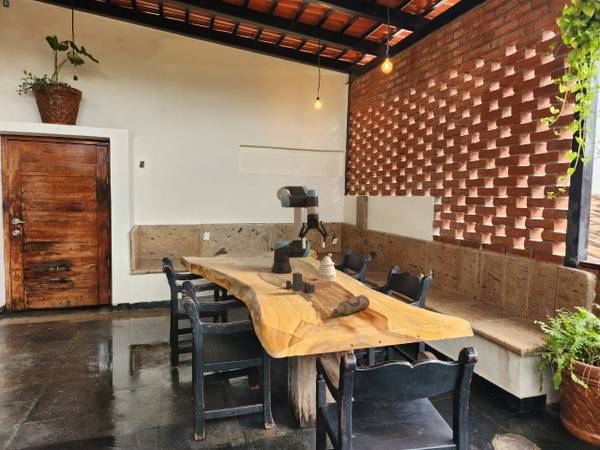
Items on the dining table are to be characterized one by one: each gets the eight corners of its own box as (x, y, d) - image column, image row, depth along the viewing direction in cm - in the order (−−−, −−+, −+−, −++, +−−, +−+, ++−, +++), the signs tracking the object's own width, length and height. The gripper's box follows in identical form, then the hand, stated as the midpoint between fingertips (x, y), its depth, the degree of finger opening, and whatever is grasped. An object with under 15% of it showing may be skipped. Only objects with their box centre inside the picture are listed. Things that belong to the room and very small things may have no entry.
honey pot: (335, 278, 264) (336, 252, 263) (335, 282, 251) (336, 255, 250) (317, 277, 265) (318, 252, 264) (316, 281, 253) (317, 255, 251)
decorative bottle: (326, 316, 181) (326, 303, 181) (358, 305, 200) (358, 293, 199) (338, 320, 176) (339, 306, 176) (370, 309, 194) (370, 296, 194)
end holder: (295, 284, 243) (295, 278, 243) (315, 281, 252) (315, 275, 252) (310, 290, 230) (310, 283, 229) (330, 286, 239) (330, 280, 238)
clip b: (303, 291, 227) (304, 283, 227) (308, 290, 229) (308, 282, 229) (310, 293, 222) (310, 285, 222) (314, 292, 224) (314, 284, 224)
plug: (292, 293, 223) (292, 273, 222) (298, 292, 225) (298, 272, 224) (296, 294, 219) (296, 274, 218) (301, 293, 221) (302, 273, 220)
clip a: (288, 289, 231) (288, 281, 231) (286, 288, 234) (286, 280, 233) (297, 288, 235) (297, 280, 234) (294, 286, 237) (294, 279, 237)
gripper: (292, 215, 240) (293, 248, 237) (328, 211, 228) (329, 246, 225) (298, 216, 246) (299, 249, 244) (333, 213, 234) (334, 247, 232)
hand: (313, 248), depth 234 cm, fingers open, 13 cm apart
